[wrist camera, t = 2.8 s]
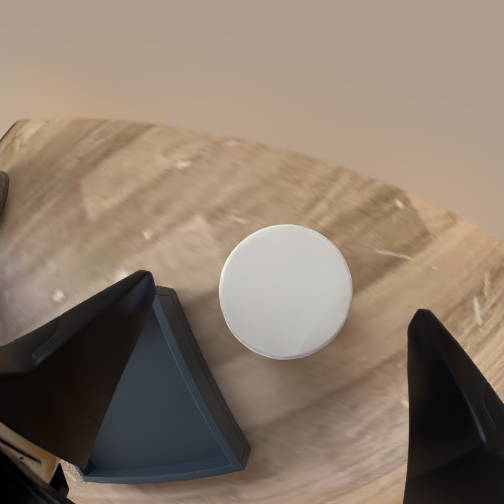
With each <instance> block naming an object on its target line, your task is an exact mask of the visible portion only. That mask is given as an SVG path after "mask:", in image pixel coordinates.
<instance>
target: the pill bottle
mask: <svg viewBox="0 0 504 504" xmlns="http://www.w3.org/2000/svg"><path fill="white" fill-rule="evenodd" d="M352 296H353V286H352V278H351V274H350V270H349V268H348V265H347V263H346V261H345V258H344V257H343V255H342V254H341V252H340V251H339V250H338V248H337V247H336V246H335V245H334V244H333V243H332V242H331V241H330V240H329V239H327V238H326V237H325V236H323V235H322V234H320V233H318V232H316V231H314V230H312V229H309V228H306V227H303V226H298V225H291V224H285V225H274V226H270V227H266V228H263V229H261V230H258V231H256V232H254V233H253V234H251V235H249V236H248V237H246V238H245V239H244V240H243V241H242V242H241V243H239V244H238V245H237V246H236V248H235V249H234V250H233V251H232V253H231V254H230V256H229V257H228V259H227V261H226V263H225V265H224V267H223V270H222V273H221V278H220V283H219V300H220V306H221V310H222V313H223V316H224V318H225V321H226V323H227V325H228V327H229V329H230V330H231V332H232V333H233V334H234V336H235V337H236V338H237V339H238V340H239V341H240V342H241V343H242V344H243V345H245V346H246V347H247V348H249V349H250V350H252V351H254V352H256V353H258V354H260V355H263V356H266V357H269V358H273V359H280V360H291V359H298V358H303V357H306V356H309V355H311V354H313V353H315V352H317V351H319V350H321V349H322V348H324V347H325V346H326V345H328V344H329V343H330V342H331V341H332V340H333V339H334V338H335V337H336V336H337V334H338V333H339V332H340V330H341V329H342V327H343V325H344V324H345V321H346V319H347V317H348V314H349V311H350V307H351V303H352Z"/></svg>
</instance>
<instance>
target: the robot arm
mask: <svg viewBox="0 0 504 504" xmlns="http://www.w3.org/2000/svg"><path fill="white" fill-rule="evenodd" d="M155 296H156V287H155V283H154V279H153V276H152V273H151V272H150V271H145V270H139V271H137V272H135V273H133V274H131V275H130V276H128V277H126V278H124V279H122V280H121V281H119V282H117V283H115V284H113V285H112V286H110V287H108V288H106V289H105V290H103V291H101V292H99V293H97V294H96V295H94V296H92V297H91V298H89V299H87V300H85V301H84V302H82V303H80V304H78V305H77V306H75V307H73V308H72V309H70V310H68V311H67V312H65V313H63V314H62V315H61V316H58V317H57V318H55V319H53V320H52V321H50V322H48V323H46V324H45V325H43V326H41V327H39V328H38V329H36V330H34V331H32V332H30V333H28V334H26V335H24V336H22V337H20V338H18V339H16V340H14V341H13V342H11V343H9V344H7V345H4V346H0V504H75V503H73V502H72V501H71V500H69V499H68V498H66V497H67V494H68V492H69V487H68V484H67V482H66V479H65V476H64V473H63V470H62V466H61V464H60V463H59V462H60V460H61V459H62V460H64V461H67V462H69V463H71V464H73V465H75V466H77V467H80V468H82V469H85V467H86V465H87V462H88V459H89V456H90V454H91V451H92V448H93V445H94V443H95V440H96V437H97V435H98V432H99V430H100V427H101V424H102V422H103V419H104V417H105V414H106V412H107V409H108V407H109V404H110V402H111V400H112V397H113V395H114V392H115V390H116V388H117V386H118V383H119V381H120V379H121V376H122V374H123V372H124V370H125V367H126V365H127V363H128V361H129V359H130V357H131V354H132V352H133V350H134V348H135V346H136V344H137V342H138V340H139V337H140V335H141V333H142V331H143V328H144V326H145V323H146V320H147V318H148V315H149V312H150V309H151V307H152V304H153V301H154V299H155ZM407 336H408V359H407V374H408V393H409V447H408V463H407V475H406V483H405V491H404V499H403V504H504V403H503V402H502V401H501V399H500V398H499V397H498V395H497V394H496V392H495V391H494V390H493V388H492V387H491V385H490V384H489V383H488V382H487V380H486V379H485V377H484V376H483V374H482V373H481V372H480V370H479V369H478V368H477V366H476V365H475V364H474V363H473V361H472V360H471V359H470V357H469V356H468V355H467V354H466V352H465V351H464V350H463V348H462V347H461V346H460V345H459V344H458V342H457V341H456V340H455V339H454V337H453V336H452V335H451V334H450V333H449V331H448V330H447V329H446V328H445V327H444V326H443V324H442V323H441V322H440V321H439V320H438V319H437V318H436V316H435V315H434V314H433V313H432V312H431V311H430V310H428V309H418V310H417V312H416V313H415V315H414V317H413V319H412V320H411V322H410V324H409V326H408V331H407Z"/></svg>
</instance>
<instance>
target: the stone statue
mask: <svg viewBox="0 0 504 504" xmlns="http://www.w3.org/2000/svg"><path fill="white" fill-rule="evenodd" d="M7 190H8V175H7V174H6V173H5V172H3V171H0V214H1V211H2V209H3V206H4V202H5V199H6V195H7Z"/></svg>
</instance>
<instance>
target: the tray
mask: <svg viewBox="0 0 504 504" xmlns="http://www.w3.org/2000/svg"><path fill="white" fill-rule="evenodd" d="M155 287H156V296H155V299H154V301H153V304H152V307H151V309H150V312H149V315H148V318H147V320H146V323H145V326H144V328H143V331H142V333H141V335H140V337H139V340H138V342H137V344H136V346H135V348H134V350H133V352H132V354H131V357H130V359H129V361H128V363H127V365H126V367H125V370H124V372H123V374H122V376H121V379H120V381H119V383H118V386H117V388H116V390H115V392H114V395H113V397H112V400H111V402H110V404H109V407H108V409H107V412H106V414H105V417H104V419H103V422H102V424H101V427H100V430H99V432H98V435H97V437H96V440H95V443H94V445H93V448H92V451H91V454H90V456H89V459H88V462H87V465H86V467H85V469H82V468H80V467H77V466H75V465H74V466H75V468H76V469H77V471H78V472H79V474H80V476H81V477H82V479H83V480H84V481H85V482H96V483H117V484H139V483H160V482H172V481H182V480H190V479H197V478H204V477H210V476H216V475H221V474H226V473H231V472H235V471H240V470H244V469H245V467H246V464H247V461H248V458H249V454H250V450H251V448H250V446H249V444H248V442H247V441H246V439H245V437H244V436H243V434H242V432H241V430H240V429H239V427H238V425H237V423H236V421H235V420H234V418H233V416H232V414H231V412H230V410H229V408H228V407H227V405H226V403H225V401H224V399H223V397H222V395H221V393H220V391H219V389H218V387H217V385H216V383H215V381H214V379H213V377H212V375H211V373H210V371H209V369H208V367H207V365H206V363H205V360H204V358H203V356H202V354H201V352H200V350H199V347H198V345H197V343H196V341H195V339H194V336H193V334H192V332H191V330H190V327H189V325H188V323H187V320H186V318H185V315H184V313H183V311H182V308H181V306H180V303H179V301H178V298H177V296H176V293H175V291H174V289H172V288H167V287H161V286H155Z"/></svg>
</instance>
